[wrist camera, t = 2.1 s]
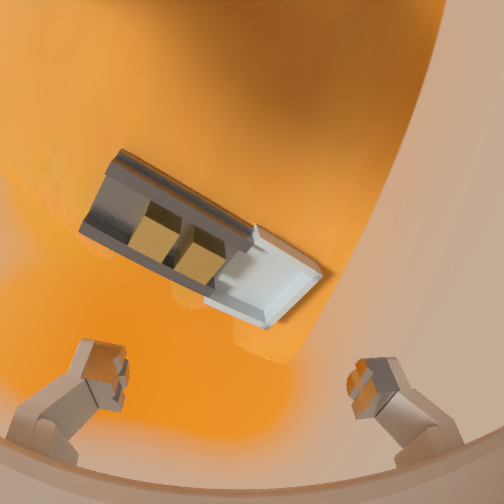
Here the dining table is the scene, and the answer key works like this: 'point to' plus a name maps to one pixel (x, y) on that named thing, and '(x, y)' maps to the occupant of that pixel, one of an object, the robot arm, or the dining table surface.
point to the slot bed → (169, 197)
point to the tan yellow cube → (155, 232)
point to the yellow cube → (199, 255)
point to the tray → (264, 280)
